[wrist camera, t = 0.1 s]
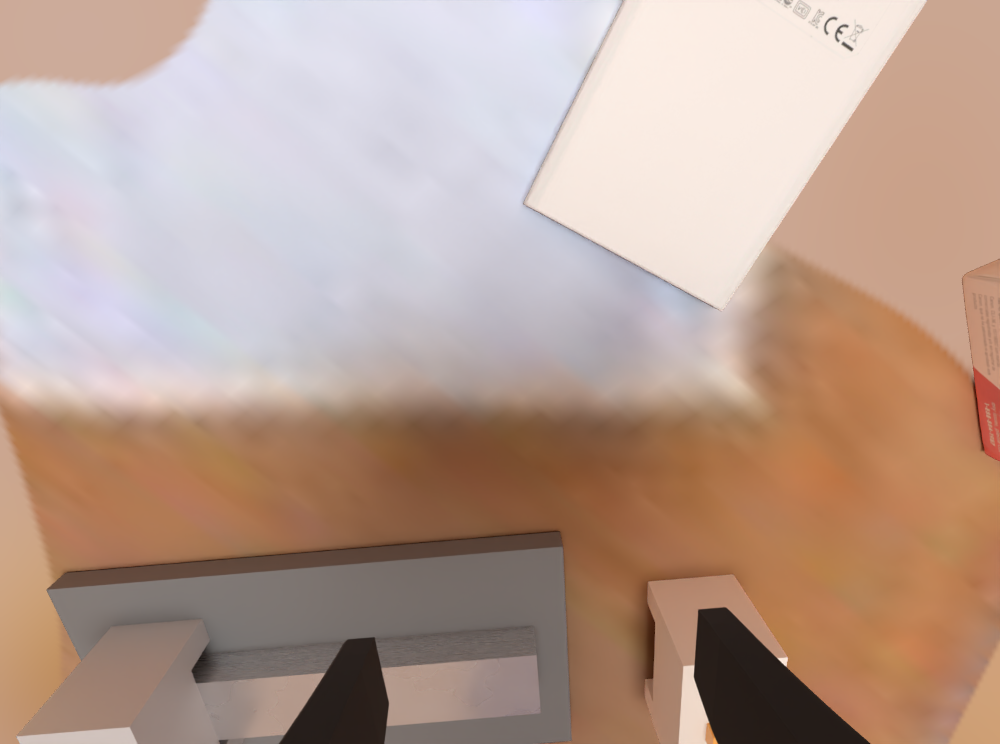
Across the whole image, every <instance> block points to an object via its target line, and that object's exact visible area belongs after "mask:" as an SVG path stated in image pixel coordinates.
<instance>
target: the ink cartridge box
mask: <svg viewBox="0 0 1000 744" xmlns="http://www.w3.org/2000/svg"><path fill="white" fill-rule="evenodd" d="M962 285H963V293H964V302H965V310H966V318H967V325H968V332H969V340H970V348H971V356H972V363H973V371H974V380H975V387H976V396H977V401H978V411H979V419H980V427H981V433H982V441H983V445H984V449H985V453H986V454H987V455H988V456H990V457H992V458H994V459H996V460H998V461H1000V259H998V260H996V261H994V262H991V263H989V264H987V265H984V266H982V267H980V268H977V269H975V270H973V271H970V272H968V273H966V274H965V275H964V276H963V278H962Z"/></svg>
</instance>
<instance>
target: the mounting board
mask: <svg viewBox="0 0 1000 744" xmlns="http://www.w3.org/2000/svg"><path fill="white" fill-rule="evenodd" d="M47 592H48V594H49V596H50V598H51V600H52V602H53V604H54V606H55V608H56V610H57V613H58V615H59V617H60V619H61V621H62V623H63V625H64V627H65V629H66V631H67V633H68V635H69V637H70V639H71V641H72V643H73V645H74V647H75V649H76V651H77V653H78V655H79V657H80V659H81V661H82V660H83V659H84V658H85V656H86V655H87V654H88V653H89V652H90V651H91V650H92V648H93V647H94V646H95V645H96V644H97V643H98V641H99V640H100V639H101V638H102V637H103V636H104V635H105V633H106V632H107V631H108V630H109V629H110V628H111V626H123V625H135V624H147V623H159V622H171V621H183V620H195V619H202V620H203V623H204V625H205V628H206V631H207V634H208V636H209V639H210V641H209V643H208V644H207V646H206V648H205V649H204V651H203V652H202V654H207V653H219V652H231V651H243V650H255V649H267V648H279V647H291V646H303V645H315V644H327V643H339V642H345V641H346V640H347V639H358V638H370V637H375V639H386V638H398V637H410V636H422V635H434V634H446V633H458V632H470V631H482V630H494V629H506V628H518V627H530V626H533V627H534V636H535V645H536V654H537V668H538V681H539V695H540V709H541V713H540V714H528V715H516V716H504V717H492V718H480V719H468V720H456V721H444V722H432V723H420V724H408V725H396V726H386V735H385V743H384V744H541V743H553V742H565V741H572V738H571V716H570V693H569V671H568V648H567V626H566V603H565V581H564V558H563V544H562V540H561V535H560V532H548V533H536V534H524V535H512V536H500V537H488V538H476V539H464V540H452V541H440V542H428V543H416V544H404V545H393V546H381V547H369V548H357V549H345V550H333V551H321V552H309V553H297V554H285V555H273V556H261V557H249V558H237V559H225V560H214V561H202V562H190V563H178V564H166V565H154V566H142V567H130V568H118V569H106V570H94V571H82V572H70V573H65V574H63V575H62V576H61V577H60V578H59V579H58V580H57V581H56V582H55V583H53V584H52V585H51V586H50V587H49V588H48V589H47ZM283 737H284V735H276V736H264V737H252V738H244V741H243V743H242V744H279V743H280V741H281V740H282V738H283Z"/></svg>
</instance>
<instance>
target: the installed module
mask: <svg viewBox="0 0 1000 744" xmlns="http://www.w3.org/2000/svg"><path fill="white" fill-rule="evenodd" d="M209 641H210V639H209V636H208V634H207V631H206V628H205V625H204V623H203V620H202V619H195V620H183V621H171V622H159V623H147V624H135V625H123V626H111V628H110V629H109V630H108V631H107V632H106V633H105V635H104V636H103V637H102V638H101V639H100V640H99V641H98V643H97V644H96V645H95V646H94V647H93V648H92V650H91V651H90V652H89V653H88V654H87V655H86V656H85V658H84V659H83V660H82V661H81V662H80V663H79V664H78V666H77V667H76V668H75V669H74V670H73V671H72V673H71V674H70V675H69V676H68V677H67V678H66V679H65V681H64V682H63V683H62V684H61V685H60V686H59V688H58V689H57V690H56V691H55V692H54V693H53V695H52V696H51V697H50V698H49V699H48V700H47V701H46V703H45V704H44V705H43V706H42V707H41V708H40V710H39V711H38V712H37V713H36V714H35V715H34V716H33V717H32V719H31V720H30V721H29V722H28V723H27V724H26V726H25V727H24V728H23V729H22V730H21V731H20V732H19V734H18V735H17V736H16V738H17V739H18V741H19V743H20V744H242V743H243V741H244V738H240V739H228V740H218V737H217V735H216V732H215V730H214V727H213V725H212V722H211V720H210V717H209V714H208V712H207V709H206V707H205V704H204V702H203V699H202V697H201V694H200V692H199V689H198V687H197V684H196V682H195V679H194V676H193V674H192V671H191V670H192V669H193V667H194V665H195V664H196V662H197V660H198V659H199V657H200V656H201V654H202V652H203V651H204V649H205V648H206V646H207V644H208V643H209Z"/></svg>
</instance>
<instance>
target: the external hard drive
mask: <svg viewBox="0 0 1000 744" xmlns="http://www.w3.org/2000/svg"><path fill="white" fill-rule="evenodd" d="M926 1H927V0H624V1H623V3H622V5H621V7H620V9H619V11H618V13H617V15H616V17H615V19H614V21H613V23H612V25H611V27H610V29H609V31H608V33H607V35H606V37H605V39H604V41H603V43H602V45H601V47H600V49H599V51H598V53H597V55H596V57H595V59H594V61H593V63H592V65H591V67H590V69H589V71H588V73H587V75H586V77H585V79H584V81H583V83H582V85H581V87H580V89H579V91H578V93H577V95H576V97H575V99H574V101H573V103H572V106H571V108H570V110H569V112H568V114H567V116H566V118H565V120H564V122H563V124H562V126H561V128H560V130H559V132H558V134H557V136H556V138H555V140H554V142H553V144H552V146H551V148H550V150H549V152H548V154H547V156H546V158H545V160H544V162H543V164H542V166H541V168H540V170H539V172H538V174H537V176H536V178H535V181H534V183H533V185H532V187H531V189H530V191H529V193H528V195H527V197H526V199H525V201H524V203H523V204H524V205H525V206H527V207H529V208H531V209H533V210H535V211H537V212H539V213H540V214H542V215H544V216H546V217H548V218H550V219H552V220H553V221H555V222H557V223H559V224H561V225H563V226H565V227H566V228H568V229H570V230H572V231H574V232H576V233H578V234H579V235H581V236H583V237H585V238H587V239H589V240H590V241H592V242H594V243H596V244H598V245H600V246H602V247H603V248H605V249H607V250H609V251H611V252H613V253H614V254H616V255H618V256H620V257H622V258H624V259H626V260H627V261H629V262H631V263H633V264H635V265H637V266H639V267H640V268H642V269H644V270H646V271H648V272H650V273H652V274H653V275H655V276H657V277H659V278H661V279H663V280H664V281H666V282H668V283H670V284H672V285H674V286H675V287H677V288H679V289H681V290H683V291H685V292H686V293H688V294H690V295H692V296H694V297H696V298H697V299H699V300H701V301H703V302H705V303H706V304H708V305H710V306H712V307H714V308H716V309H718V310H720V311H722V310H723V309H724V308H725V306H726V305H727V303H728V302H729V300H730V299H731V297H732V296H733V294H734V293H735V291H736V290H737V288H738V287H739V285H740V284H741V282H742V281H743V279H744V278H745V276H746V274H747V273H748V271H749V270H750V268H751V267H752V265H753V264H754V262H755V261H756V259H757V258H758V256H759V255H760V253H761V252H762V250H763V249H764V247H765V246H766V244H767V243H768V241H769V240H770V238H771V236H772V235H773V233H774V232H775V230H776V229H777V227H778V226H779V224H780V223H781V221H782V220H783V218H784V217H785V215H786V214H787V212H788V211H789V209H790V208H791V206H792V205H793V203H794V202H795V200H796V199H797V197H798V196H799V194H800V193H801V191H802V190H803V188H804V187H805V185H806V183H807V182H808V180H809V179H810V177H811V176H812V174H813V173H814V171H815V170H816V168H817V167H818V165H819V164H820V162H821V161H822V159H823V158H824V156H825V155H826V153H827V152H828V150H829V149H830V147H831V146H832V144H833V143H834V141H835V140H836V138H837V137H838V135H839V134H840V132H841V130H842V129H843V128H844V126H845V124H846V123H847V121H848V120H849V118H850V117H851V115H852V114H853V112H854V111H855V109H856V108H857V106H858V105H859V103H860V102H861V100H862V99H863V97H864V95H865V94H866V93H867V91H868V89H869V88H870V86H871V85H872V84H873V82H874V80H875V79H876V77H877V76H878V74H879V73H880V71H881V70H882V68H883V67H884V65H885V64H886V62H887V61H888V59H889V58H890V56H891V55H892V53H893V51H894V50H895V48H896V47H897V45H898V44H899V42H900V41H901V39H902V38H903V36H904V35H905V33H906V32H907V30H908V29H909V27H910V26H911V24H912V23H913V21H914V20H915V18H916V17H917V15H918V14H919V12H920V11H921V9H922V8H923V6H924V5H925V3H926Z"/></svg>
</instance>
